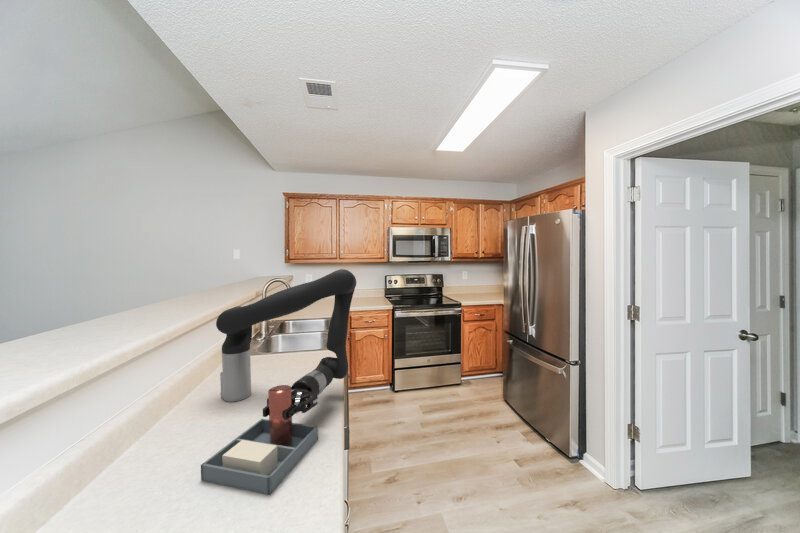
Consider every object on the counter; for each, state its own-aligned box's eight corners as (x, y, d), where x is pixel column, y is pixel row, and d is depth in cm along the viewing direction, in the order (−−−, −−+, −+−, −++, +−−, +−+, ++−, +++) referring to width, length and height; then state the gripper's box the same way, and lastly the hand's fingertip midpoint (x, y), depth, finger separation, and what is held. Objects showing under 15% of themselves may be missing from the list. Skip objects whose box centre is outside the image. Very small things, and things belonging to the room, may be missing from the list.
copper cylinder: (265, 446, 78) (263, 393, 77) (278, 433, 83) (277, 384, 83) (284, 449, 76) (282, 395, 76) (296, 436, 82) (295, 386, 81)
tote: (201, 484, 68) (200, 465, 68) (262, 433, 87) (261, 418, 87) (270, 499, 63) (269, 478, 63) (318, 442, 83) (317, 426, 83)
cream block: (222, 476, 69) (222, 455, 68) (242, 459, 74) (242, 439, 74) (260, 484, 66) (259, 462, 66) (277, 465, 72) (277, 445, 72)
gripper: (288, 373, 95) (250, 397, 79) (330, 377, 91) (298, 403, 75) (289, 396, 95) (251, 425, 79) (330, 401, 92) (299, 432, 75)
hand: (274, 414), depth 77 cm, fingers closed on copper cylinder, 5 cm apart
